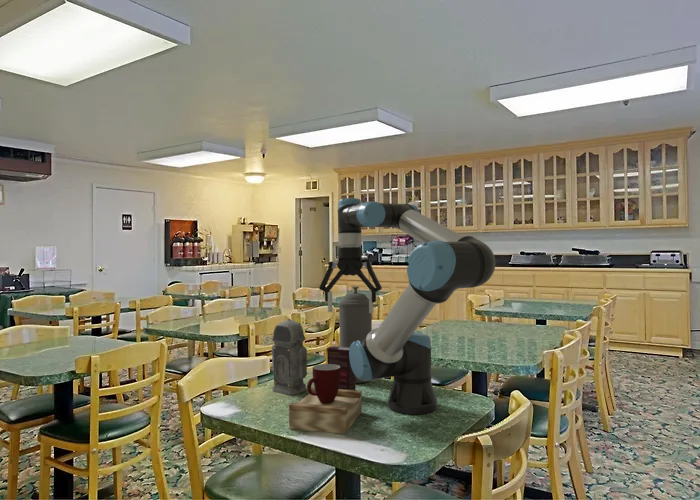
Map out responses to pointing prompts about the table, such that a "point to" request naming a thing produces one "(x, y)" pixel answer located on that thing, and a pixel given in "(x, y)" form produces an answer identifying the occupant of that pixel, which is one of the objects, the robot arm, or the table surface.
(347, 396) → the pedestal
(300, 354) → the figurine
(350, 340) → the canister
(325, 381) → the mug
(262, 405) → the table surface
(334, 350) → the supplement box
